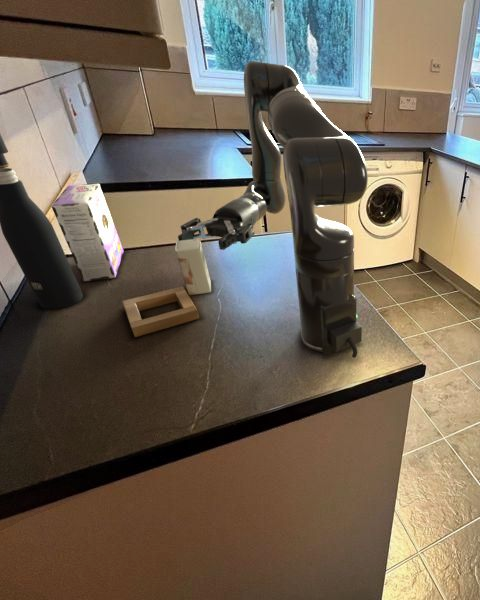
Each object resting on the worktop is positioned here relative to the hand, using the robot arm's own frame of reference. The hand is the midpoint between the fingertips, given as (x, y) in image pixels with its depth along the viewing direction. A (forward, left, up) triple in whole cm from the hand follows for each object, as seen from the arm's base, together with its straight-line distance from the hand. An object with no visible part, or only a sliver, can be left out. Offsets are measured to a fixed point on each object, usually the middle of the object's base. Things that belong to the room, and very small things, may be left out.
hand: (200, 243), depth 77 cm
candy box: (+18, +17, -9) cm, 26 cm away
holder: (-9, +11, -9) cm, 16 cm away
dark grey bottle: (+6, +25, -9) cm, 27 cm away
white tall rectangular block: (-3, +3, -9) cm, 10 cm away
